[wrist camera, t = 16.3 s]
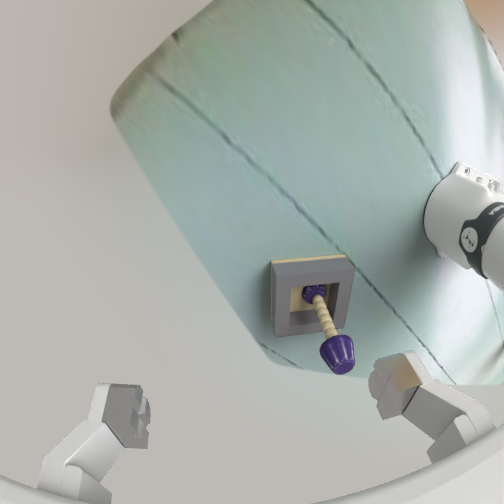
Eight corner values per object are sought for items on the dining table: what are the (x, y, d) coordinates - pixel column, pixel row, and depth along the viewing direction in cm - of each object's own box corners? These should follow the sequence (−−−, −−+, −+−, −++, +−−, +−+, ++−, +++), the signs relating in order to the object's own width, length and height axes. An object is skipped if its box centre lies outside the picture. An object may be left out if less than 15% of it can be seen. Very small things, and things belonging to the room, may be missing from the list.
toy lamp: (311, 307, 51) (343, 383, 37) (292, 296, 49) (320, 374, 35) (331, 288, 50) (369, 360, 35) (311, 275, 48) (348, 350, 33)
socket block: (344, 254, 48) (354, 268, 44) (335, 312, 54) (343, 328, 50) (271, 260, 47) (276, 276, 43) (270, 319, 53) (274, 337, 49)
